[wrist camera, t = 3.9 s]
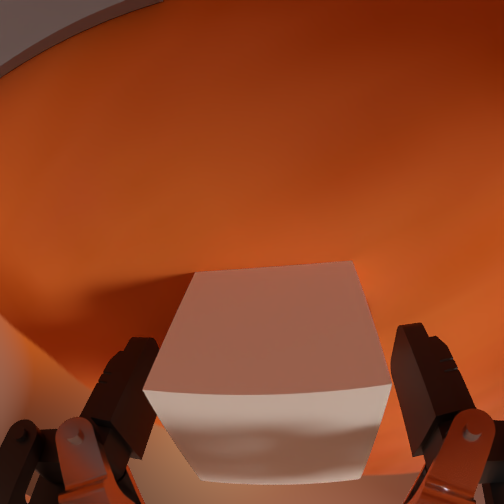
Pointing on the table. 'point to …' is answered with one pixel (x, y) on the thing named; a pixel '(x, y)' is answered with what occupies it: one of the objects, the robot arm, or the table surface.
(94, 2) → the slate mat
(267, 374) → the cream cube
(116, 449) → the robot arm
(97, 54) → the table surface
